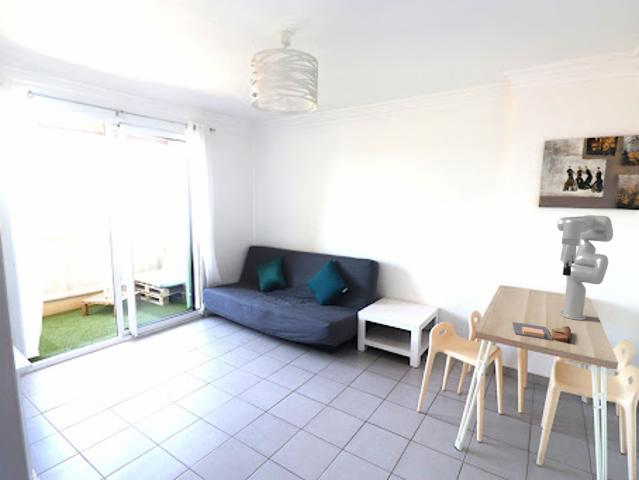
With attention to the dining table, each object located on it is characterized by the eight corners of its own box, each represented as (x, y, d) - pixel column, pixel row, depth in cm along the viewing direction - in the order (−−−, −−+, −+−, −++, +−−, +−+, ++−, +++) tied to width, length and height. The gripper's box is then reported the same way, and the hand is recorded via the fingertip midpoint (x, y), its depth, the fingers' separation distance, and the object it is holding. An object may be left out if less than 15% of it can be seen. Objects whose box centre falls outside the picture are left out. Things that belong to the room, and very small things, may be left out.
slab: (522, 326, 178) (523, 330, 172) (542, 329, 175) (544, 334, 169) (521, 329, 179) (523, 334, 173) (541, 333, 175) (544, 337, 169)
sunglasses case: (551, 328, 183) (559, 319, 180) (563, 337, 180) (573, 329, 177) (549, 339, 168) (559, 330, 165) (563, 349, 165) (573, 340, 162)
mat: (512, 322, 190) (512, 321, 190) (545, 328, 183) (545, 327, 183) (515, 334, 174) (515, 333, 174) (552, 340, 167) (552, 339, 167)
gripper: (559, 240, 189) (555, 271, 191) (565, 243, 176) (561, 277, 178) (575, 241, 186) (571, 273, 188) (582, 244, 172) (578, 279, 175)
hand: (566, 275), depth 183 cm, fingers closed
